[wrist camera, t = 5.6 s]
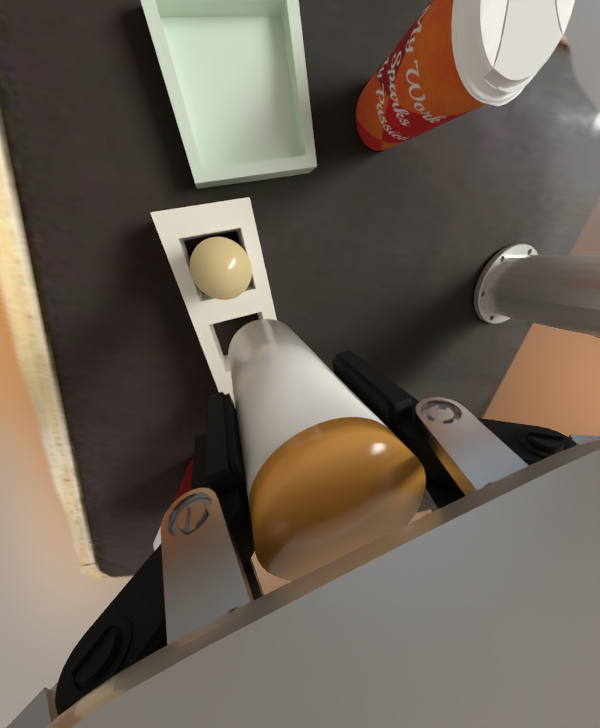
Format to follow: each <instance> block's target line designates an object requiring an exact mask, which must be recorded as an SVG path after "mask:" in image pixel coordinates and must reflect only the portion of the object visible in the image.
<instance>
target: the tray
mask: <svg viewBox="0 0 600 728" xmlns="http://www.w3.org/2000/svg"><path fill="white" fill-rule="evenodd" d="M140 1H141V4H142V7H143V11H144V14H145V17H146V21H147V24H148V28H149V31H150V34H151V38H152V41H153V44H154V48H155V51H156V54H157V58H158V61H159V64H160V68H161V71H162V74H163V78H164V81H165V85H166V88H167V91H168V95H169V98H170V101H171V105H172V108H173V111H174V115H175V118H176V121H177V125H178V128H179V131H180V135H181V138H182V141H183V145H184V148H185V152H186V155H187V158H188V162H189V165H190V168H191V172H192V175H193V178H194V182H195V185H196V188H197V189H202V188H209V187H216V186H223V185H230V184H237V183H244V182H251V181H258V180H265V179H272V178H279V177H286V176H293V175H300V174H307V173H310V172H311V171H312V170H313V169H315V168H316V167H317V162H316V153H315V144H314V135H313V126H312V117H311V108H310V99H309V90H308V81H307V73H306V64H305V55H304V46H303V37H302V28H301V19H300V10H299V1H298V0H140Z"/></svg>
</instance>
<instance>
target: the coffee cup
mask: <svg viewBox="0 0 600 728" xmlns="http://www.w3.org/2000/svg"><path fill="white" fill-rule="evenodd" d="M574 1H575V0H432V1H431V2H430V3H429V5H428V6H427V7H426V8H425V10H424V11H423V12H422V14H421V15H420V16H419V17H418V19H417V20H416V21H415V22H414V24H413V25H412V26H411V28H410V29H409V30H408V31H407V33H406V34H405V35H404V37H403V38H402V39H401V40H400V42H399V43H398V44H397V45H396V47H395V48H394V49H393V51H392V52H391V53H390V54H389V56H388V57H387V58H386V60H385V61H384V62H383V63H382V65H381V66H380V67H379V69H378V70H377V71H376V73H375V74H374V75H373V77H372V78H371V79H370V81H369V82H368V83H367V85H366V86H365V88H364V89H363V91H362V93H361V95H360V97H359V99H358V103H357V107H356V126H357V130H358V133H359V136H360V138H361V139H362V141H363V142H364V144H365V145H366V146H367V147H369V148H370V149H372V150H376V151H381V150H385V149H388V148H390V147H393V146H395V145H398V144H400V143H402V142H404V141H406V140H409V139H411V138H413V137H415V136H418V135H420V134H422V133H424V132H426V131H428V130H431V129H433V128H435V127H437V126H439V125H441V124H444V123H446V122H448V121H450V120H452V119H454V118H457V117H459V116H461V115H463V114H465V113H467V112H470V111H472V110H474V109H476V108H478V107H480V106H483V105H485V104H490V105H494V106H497V107H498V106H501V105H503V104H506V103H508V102H509V101H511V100H512V99H514V98H515V97H516V96H517V95H519V94H520V93H521V91H522V90H523V88H524V87H525V86H526V85H527V84H528V83H529V82H530V81H531V79H532V78H533V77H534V76H535V74H536V73H537V72H538V71H539V69H540V68H541V67H542V66H543V65H544V63H545V62H546V61H547V60H548V59H549V57H550V55H551V54H552V52H553V51H554V49H555V48H556V46H557V44H558V43H559V41H560V39H561V38H562V35H563V34H564V32H565V30H566V27H567V24H568V21H569V18H570V16H571V12H572V9H573V5H574Z"/></svg>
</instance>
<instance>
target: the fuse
mask: <svg viewBox="0 0 600 728" xmlns="http://www.w3.org/2000/svg"><path fill="white" fill-rule="evenodd" d="M190 272H191V275H192V278H193V280H194V282H195V284H196V285H197V287H198V288H199V289H200V290H201V291H202V292H203V293H205V294H206V295H208V296H210V297H212V298H215V299H219V300H229V299H233V298H236V297H238V296H239V295H241V294H242V293H243V292H244V291H245V290H246V289H247V287H248V285H249V283H250V280H251V276H252V267H251V263H250V259H249V257H248V255H247V254H246V252H245V251H244V249H243V248H242V247H241V246H240V245H239V244H237V243H236V242H234V241H233V240H230V239H228V238H224V237H211V238H208V239H205V240H203V241H202V242H200V243H199V244H198V245H197V246H196V248H195V249H194V251H193V253H192V255H191V259H190Z"/></svg>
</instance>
